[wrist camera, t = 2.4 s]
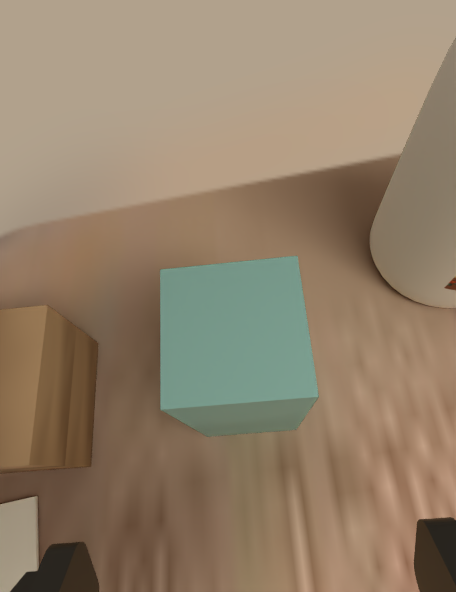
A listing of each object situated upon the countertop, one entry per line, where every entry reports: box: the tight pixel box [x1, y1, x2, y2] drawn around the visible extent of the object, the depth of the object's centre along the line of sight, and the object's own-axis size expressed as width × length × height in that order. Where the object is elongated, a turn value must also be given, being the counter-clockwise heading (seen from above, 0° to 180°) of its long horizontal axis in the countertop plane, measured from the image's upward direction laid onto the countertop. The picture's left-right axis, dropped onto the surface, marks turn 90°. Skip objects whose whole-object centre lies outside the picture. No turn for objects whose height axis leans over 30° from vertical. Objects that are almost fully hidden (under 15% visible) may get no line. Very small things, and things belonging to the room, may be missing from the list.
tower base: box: [0, 305, 98, 473], centre depth 20 cm, size 6×6×6 cm
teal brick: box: [160, 256, 319, 437], centre depth 17 cm, size 4×4×10 cm
